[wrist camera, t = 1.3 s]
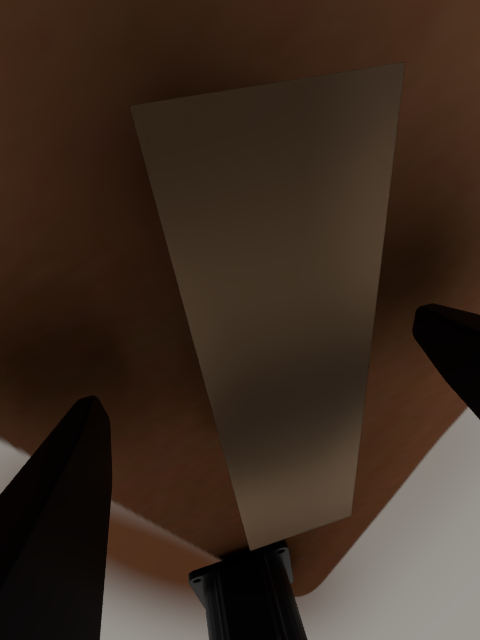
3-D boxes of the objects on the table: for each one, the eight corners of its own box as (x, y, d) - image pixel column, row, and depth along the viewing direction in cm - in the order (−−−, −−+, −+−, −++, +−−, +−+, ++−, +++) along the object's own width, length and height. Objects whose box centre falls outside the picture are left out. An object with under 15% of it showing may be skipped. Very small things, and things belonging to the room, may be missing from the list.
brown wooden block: (294, 405, 15) (351, 516, 11) (220, 427, 15) (250, 551, 10) (276, 86, 8) (404, 62, 4) (137, 108, 8) (129, 106, 4)
